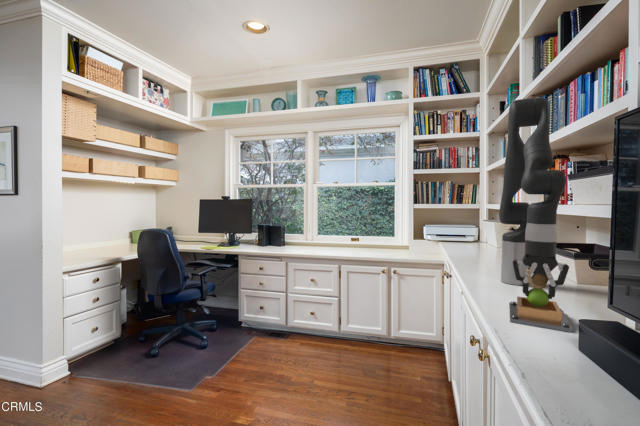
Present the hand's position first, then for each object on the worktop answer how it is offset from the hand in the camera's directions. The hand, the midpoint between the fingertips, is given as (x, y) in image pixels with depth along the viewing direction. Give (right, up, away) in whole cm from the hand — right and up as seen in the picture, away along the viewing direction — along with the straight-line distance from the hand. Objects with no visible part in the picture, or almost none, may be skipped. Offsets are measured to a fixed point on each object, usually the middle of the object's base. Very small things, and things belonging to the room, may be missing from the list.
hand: (538, 296), depth 94 cm
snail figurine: (0, -3, 0) cm, 3 cm away
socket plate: (0, -6, 0) cm, 6 cm away
